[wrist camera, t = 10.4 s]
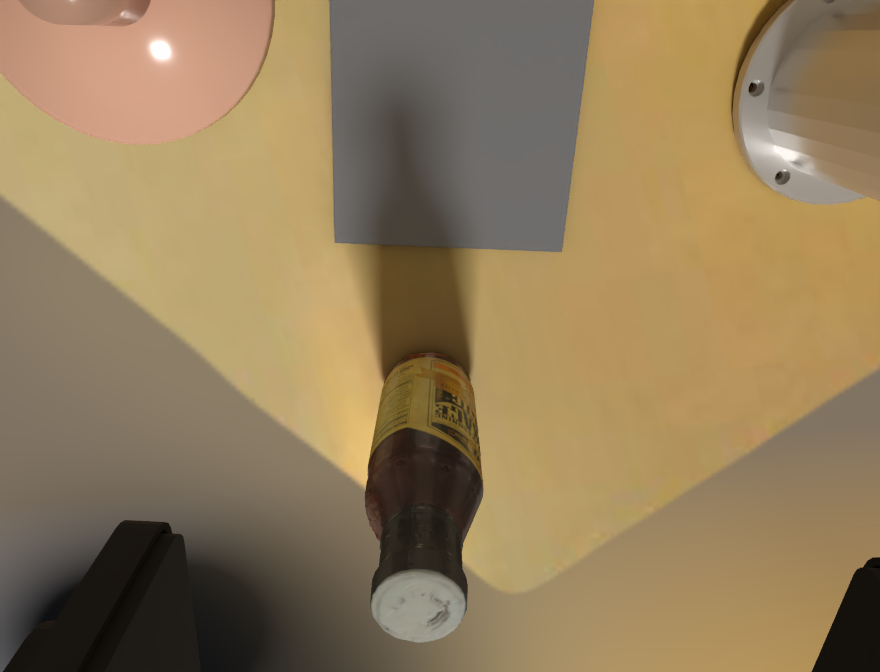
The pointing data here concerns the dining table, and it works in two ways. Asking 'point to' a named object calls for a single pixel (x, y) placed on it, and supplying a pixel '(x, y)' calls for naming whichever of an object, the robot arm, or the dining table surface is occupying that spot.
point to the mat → (456, 120)
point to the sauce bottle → (423, 496)
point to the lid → (135, 62)
